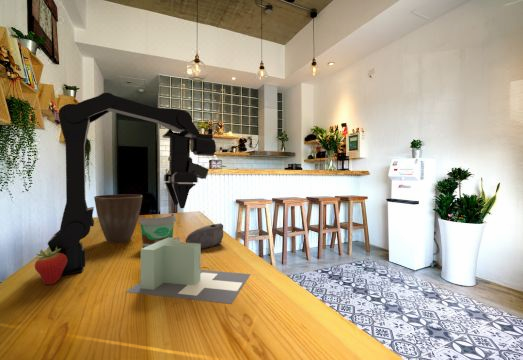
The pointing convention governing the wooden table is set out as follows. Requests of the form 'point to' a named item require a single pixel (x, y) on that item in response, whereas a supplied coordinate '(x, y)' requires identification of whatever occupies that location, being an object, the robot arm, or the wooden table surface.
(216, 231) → the perforated stone tool
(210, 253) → the wooden table surface
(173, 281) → the t block
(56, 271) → the fruit
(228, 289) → the mat
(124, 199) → the plant pot
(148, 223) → the food container
